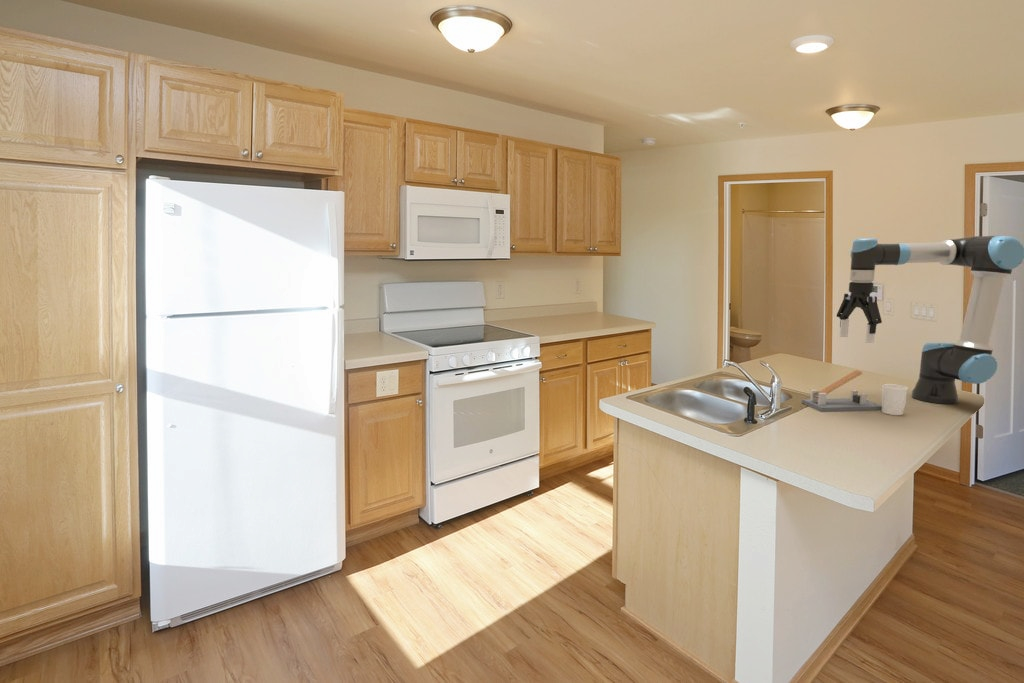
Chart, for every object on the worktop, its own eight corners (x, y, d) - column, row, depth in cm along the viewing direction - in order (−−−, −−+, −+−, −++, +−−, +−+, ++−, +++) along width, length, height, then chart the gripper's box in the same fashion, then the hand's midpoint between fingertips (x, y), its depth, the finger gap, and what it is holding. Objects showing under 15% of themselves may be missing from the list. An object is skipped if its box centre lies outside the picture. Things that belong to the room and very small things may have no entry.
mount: (861, 401, 228) (863, 386, 227) (883, 410, 216) (885, 394, 215) (801, 402, 225) (803, 387, 224) (821, 411, 214) (822, 395, 213)
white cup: (908, 416, 208) (912, 389, 207) (884, 415, 210) (887, 388, 208) (899, 410, 216) (902, 384, 214) (875, 409, 217) (878, 383, 216)
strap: (857, 372, 221) (855, 369, 221) (862, 374, 218) (861, 371, 218) (814, 397, 221) (813, 394, 221) (819, 399, 218) (818, 396, 217)
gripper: (829, 279, 221) (824, 334, 225) (877, 284, 197) (871, 345, 200) (847, 279, 222) (842, 334, 225) (897, 283, 198) (891, 344, 201)
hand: (856, 339), depth 213 cm, fingers open, 13 cm apart
